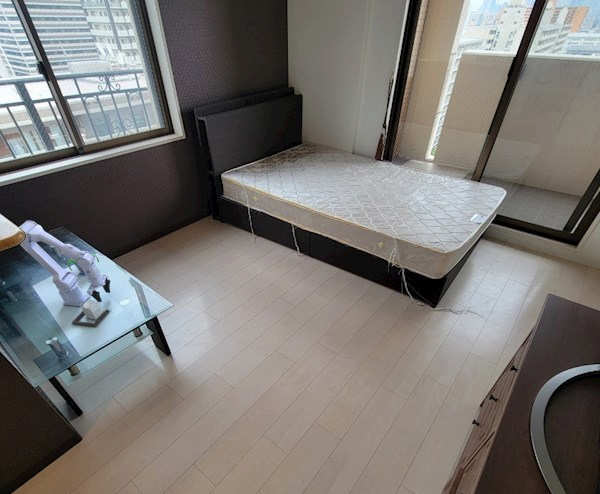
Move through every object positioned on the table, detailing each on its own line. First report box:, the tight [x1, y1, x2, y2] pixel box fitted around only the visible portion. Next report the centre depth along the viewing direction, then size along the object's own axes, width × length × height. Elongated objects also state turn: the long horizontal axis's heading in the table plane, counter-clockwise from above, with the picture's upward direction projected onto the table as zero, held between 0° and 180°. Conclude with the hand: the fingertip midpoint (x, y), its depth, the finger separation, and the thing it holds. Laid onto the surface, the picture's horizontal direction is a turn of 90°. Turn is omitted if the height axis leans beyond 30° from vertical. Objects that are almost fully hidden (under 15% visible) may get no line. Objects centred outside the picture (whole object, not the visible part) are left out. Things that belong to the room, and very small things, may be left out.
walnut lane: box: [71, 309, 110, 328], centre depth 170 cm, size 12×12×1 cm
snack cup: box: [67, 252, 100, 275], centre depth 197 cm, size 16×10×10 cm
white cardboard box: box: [80, 299, 105, 321], centre depth 170 cm, size 6×6×7 cm
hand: (104, 296), depth 178 cm, fingers open, 7 cm apart
